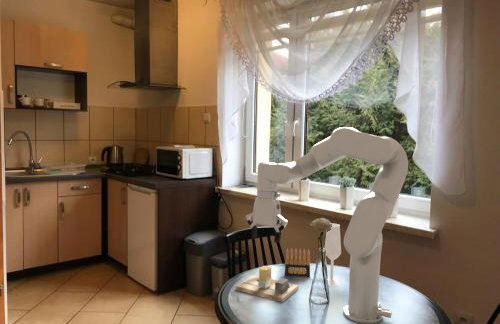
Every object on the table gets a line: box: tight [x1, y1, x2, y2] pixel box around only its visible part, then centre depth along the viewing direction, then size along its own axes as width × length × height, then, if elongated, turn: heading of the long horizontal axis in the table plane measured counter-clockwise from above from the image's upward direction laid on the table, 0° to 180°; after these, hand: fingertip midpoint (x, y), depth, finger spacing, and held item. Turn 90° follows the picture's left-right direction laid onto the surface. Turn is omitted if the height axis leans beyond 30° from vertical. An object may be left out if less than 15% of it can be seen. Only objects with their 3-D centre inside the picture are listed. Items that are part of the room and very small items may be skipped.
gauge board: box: [235, 274, 299, 303], centre depth 152 cm, size 20×14×6 cm
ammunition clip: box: [284, 247, 311, 278], centre depth 167 cm, size 11×2×12 cm, turn 84°
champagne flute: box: [324, 223, 342, 287], centre depth 159 cm, size 7×7×24 cm
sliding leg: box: [258, 265, 274, 289], centre depth 151 cm, size 3×8×7 cm, turn 150°
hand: (265, 239), depth 149 cm, fingers open, 9 cm apart
